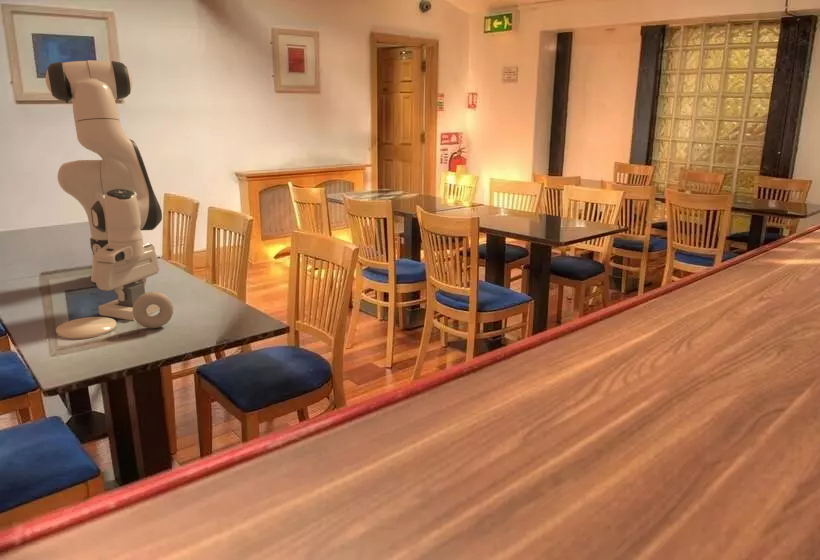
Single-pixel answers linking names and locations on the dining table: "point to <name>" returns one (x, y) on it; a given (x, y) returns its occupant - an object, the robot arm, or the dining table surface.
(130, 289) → the block
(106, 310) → the pocket collar
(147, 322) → the donut
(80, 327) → the peach ellipsoid
